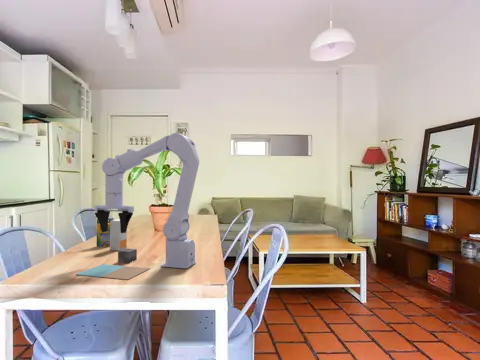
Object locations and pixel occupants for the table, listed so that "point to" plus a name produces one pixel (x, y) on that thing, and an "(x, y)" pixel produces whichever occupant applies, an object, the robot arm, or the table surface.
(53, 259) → the table surface
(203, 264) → the table surface
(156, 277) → the table surface
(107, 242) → the crayon box
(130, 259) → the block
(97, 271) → the board
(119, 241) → the skincare box
